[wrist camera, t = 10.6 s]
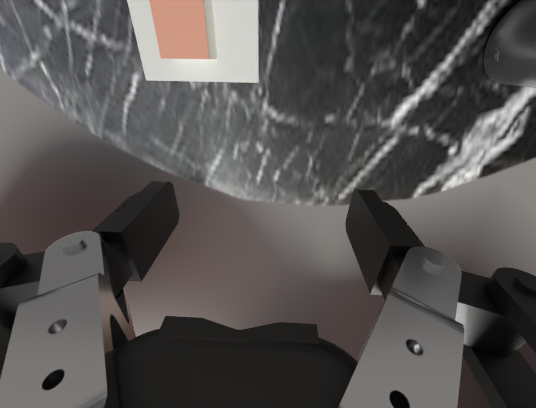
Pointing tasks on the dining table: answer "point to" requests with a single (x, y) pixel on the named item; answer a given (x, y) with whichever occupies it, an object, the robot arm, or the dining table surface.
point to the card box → (184, 28)
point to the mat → (227, 44)
